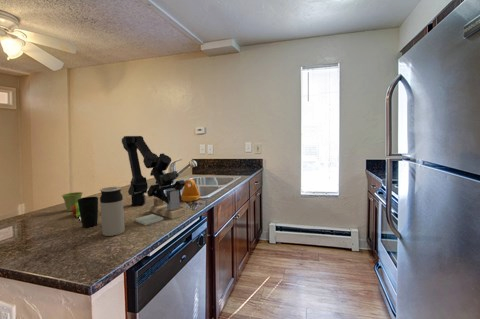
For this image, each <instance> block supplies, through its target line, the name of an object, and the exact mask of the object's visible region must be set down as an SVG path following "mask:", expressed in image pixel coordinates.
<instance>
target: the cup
mask: <svg viewBox="0 0 480 319" xmlns="http://www.w3.org/2000/svg"><path fill="white" fill-rule="evenodd" d="M78 206H79V211H80V216H81V221H82V222H81V224H82V228H83V227H84V228H83V229H90V228H89V227H92V228H95V227H97V226H98V220H99V219H98V218H99V216H98V214H99V212H98V211H99V197H98V196H87V197H86V196H85V197H81V199H78ZM94 226H95V227H94Z"/></svg>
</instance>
